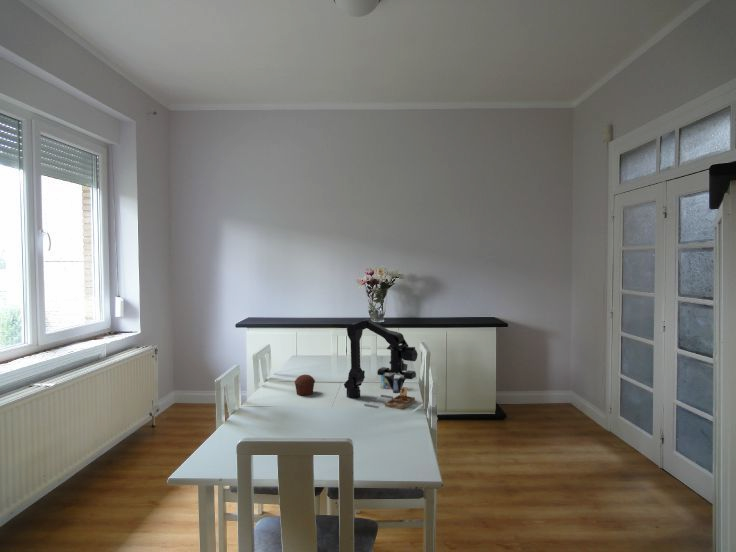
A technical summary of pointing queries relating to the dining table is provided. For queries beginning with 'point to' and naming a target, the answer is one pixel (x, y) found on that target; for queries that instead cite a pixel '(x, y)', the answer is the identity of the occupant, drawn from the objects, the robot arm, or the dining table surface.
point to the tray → (399, 402)
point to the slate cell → (396, 385)
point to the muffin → (304, 385)
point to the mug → (385, 382)
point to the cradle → (379, 401)
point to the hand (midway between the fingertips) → (396, 390)
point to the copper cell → (403, 394)
